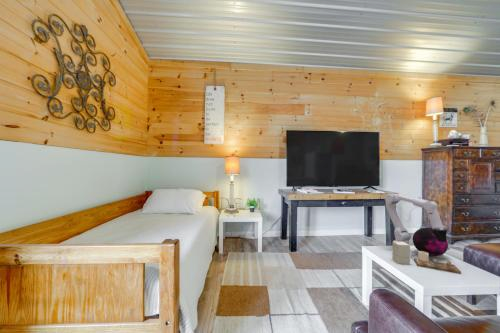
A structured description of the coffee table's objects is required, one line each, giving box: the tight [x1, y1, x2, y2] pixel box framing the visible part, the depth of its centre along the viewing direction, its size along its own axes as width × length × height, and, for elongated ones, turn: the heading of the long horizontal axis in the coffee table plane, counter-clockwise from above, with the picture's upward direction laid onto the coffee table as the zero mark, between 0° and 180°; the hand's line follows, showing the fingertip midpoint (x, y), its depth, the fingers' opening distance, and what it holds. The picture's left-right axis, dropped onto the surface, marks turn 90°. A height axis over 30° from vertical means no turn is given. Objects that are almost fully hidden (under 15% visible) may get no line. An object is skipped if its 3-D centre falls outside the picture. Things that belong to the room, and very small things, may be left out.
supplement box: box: [391, 240, 411, 265], centre depth 146 cm, size 7×7×13 cm
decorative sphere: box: [412, 227, 449, 258], centre depth 159 cm, size 20×20×20 cm
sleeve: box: [417, 250, 430, 264], centre depth 143 cm, size 5×5×6 cm
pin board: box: [413, 257, 462, 275], centre depth 140 cm, size 21×11×4 cm, turn 64°
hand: (442, 241), depth 140 cm, fingers open, 7 cm apart
